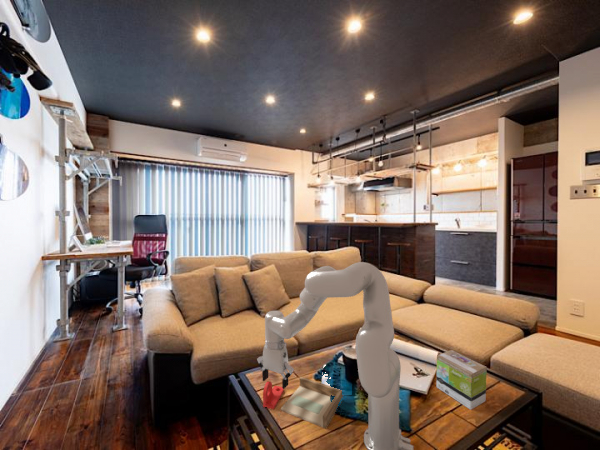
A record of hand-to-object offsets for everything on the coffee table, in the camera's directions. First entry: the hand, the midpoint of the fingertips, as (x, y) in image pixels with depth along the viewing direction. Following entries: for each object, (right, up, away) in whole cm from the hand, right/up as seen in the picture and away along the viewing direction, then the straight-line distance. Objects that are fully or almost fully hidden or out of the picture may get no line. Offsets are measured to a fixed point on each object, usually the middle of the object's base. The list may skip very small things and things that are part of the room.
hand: (275, 383), depth 113 cm
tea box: (+75, -5, 0) cm, 76 cm away
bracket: (0, -7, +1) cm, 7 cm away
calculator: (+27, -6, +12) cm, 30 cm away
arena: (+15, -7, -4) cm, 17 cm away
